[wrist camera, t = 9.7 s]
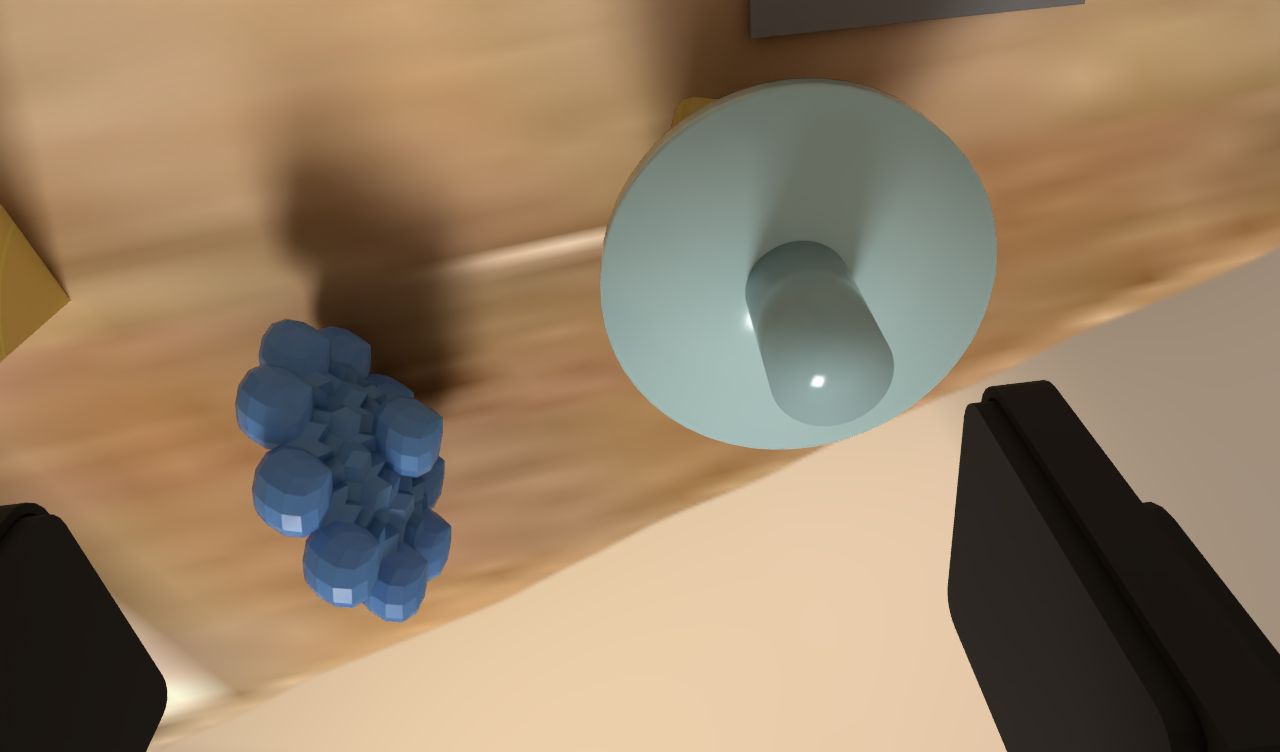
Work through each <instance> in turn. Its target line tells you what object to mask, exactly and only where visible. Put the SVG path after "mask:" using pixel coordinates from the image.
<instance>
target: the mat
mask: <svg viewBox="0 0 1280 752" xmlns="http://www.w3.org/2000/svg"><path fill="white" fill-rule="evenodd" d="M1078 4H1085V0H749V15H750V36H751V38H762V37H771V36H781V35H790V34H800V33H810V32H819V31H829V30H838V29H848V28H857V27H867V26H877V25H886V24H896V23H905V22H915V21H924V20H934V19H944V18H953V17H963V16H972V15H982V14H991V13H1001V12H1011V11H1020V10H1030V9H1039V8H1049V7H1058V6H1068V5H1078Z"/></svg>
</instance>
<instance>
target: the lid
mask: <svg viewBox="0 0 1280 752" xmlns="http://www.w3.org/2000/svg"><path fill="white" fill-rule="evenodd" d="M996 261H997V239H996V229H995V221H994V217H993V214H992V210H991V206H990V202H989V199H988V196H987V194H986V192H985V189H984V187H983V185H982V182H981V180H980V178H979V176H978V175H977V173H976V171H975V170H974V168H973V167H972V165H971V164H970V162H969V160H968V159H967V157H966V156H965V155H964V154H963V153H962V152H961V150H960V149H959V148H958V147H957V146H956V145H955V144H954V142H953V141H952V140H951V139H950V138H949V137H948V136H947V135H946V134H945V133H944V132H942V131H941V130H940V129H939V128H938V127H937V126H936V125H935V124H934V123H932V122H931V121H930V120H929V119H927V118H926V117H925V116H924V115H923V114H921V113H920V112H919V111H918V110H916V109H915V108H913V107H911V106H910V105H908V104H906V103H905V102H903V101H901V100H899V99H898V98H896V97H894V96H892V95H889V94H887V93H884V92H882V91H879V90H877V89H874V88H872V87H868V86H864V85H860V84H856V83H852V82H848V81H843V80H833V79H823V78H802V79H786V80H780V81H774V82H768V83H762V84H759V85H756V86H752V87H749V88H746V89H743V90H739V91H736V92H733V93H731V94H729V95H727V96H725V97H722V98H720V99H718V100H716V101H714V102H711V103H709V104H707V105H706V106H704V107H703V108H701V109H699V110H698V111H696V112H694V113H693V114H691V115H690V116H688V117H686V118H685V119H684V120H682V121H681V122H680V123H679V124H677V125H676V126H675V127H674V128H672V129H671V130H670V131H669V132H667V133H666V134H665V135H664V136H663V137H662V138H661V139H660V140H659V141H658V142H657V143H656V144H655V145H654V146H653V147H652V148H651V149H650V150H649V151H648V152H647V153H646V154H645V156H644V157H643V158H642V160H641V161H640V162H639V164H638V165H637V167H636V168H635V169H634V171H633V172H632V173H631V175H630V176H629V178H628V180H627V181H626V183H625V185H624V187H623V189H622V191H621V192H620V194H619V196H618V198H617V200H616V203H615V205H614V208H613V210H612V213H611V216H610V218H609V221H608V225H607V229H606V233H605V237H604V242H603V248H602V259H601V275H600V290H601V308H602V313H603V318H604V323H605V328H606V332H607V334H608V337H609V340H610V343H611V345H612V348H613V351H614V353H615V355H616V357H617V359H618V360H619V362H620V364H621V366H622V368H623V370H624V371H625V373H626V374H627V375H628V377H629V378H630V380H631V381H632V382H633V384H634V385H635V386H636V388H637V389H638V390H639V391H640V392H641V393H642V394H643V395H644V396H645V397H646V398H647V399H648V400H649V401H650V402H651V403H652V404H653V405H654V406H655V407H657V408H658V409H659V410H661V411H662V412H663V413H664V414H666V415H667V416H668V417H670V418H671V419H673V420H675V421H676V422H678V423H680V424H681V425H683V426H685V427H686V428H688V429H690V430H693V431H695V432H697V433H699V434H702V435H704V436H706V437H709V438H712V439H715V440H718V441H722V442H725V443H728V444H733V445H738V446H744V447H749V448H760V449H774V450H776V449H799V448H806V447H813V446H820V445H825V444H829V443H833V442H837V441H841V440H844V439H847V438H850V437H853V436H855V435H858V434H861V433H864V432H866V431H868V430H871V429H873V428H875V427H877V426H879V425H881V424H883V423H885V422H887V421H889V420H890V419H892V418H894V417H895V416H897V415H899V414H900V413H902V412H903V411H905V410H907V409H908V408H910V407H911V406H912V405H913V404H915V403H916V402H917V401H919V400H920V399H921V398H922V397H924V396H925V395H926V394H928V393H929V392H930V391H931V390H932V389H933V388H934V387H935V386H936V385H937V384H938V383H939V382H940V381H941V380H942V379H943V378H944V377H945V376H946V375H947V374H948V372H949V371H950V370H951V369H952V368H953V366H954V365H955V364H956V363H957V362H958V360H959V359H960V358H961V356H962V355H963V353H964V352H965V350H966V349H967V347H968V346H969V344H970V342H971V341H972V339H973V338H974V336H975V334H976V332H977V330H978V328H979V325H980V323H981V321H982V319H983V317H984V315H985V312H986V309H987V306H988V303H989V300H990V297H991V294H992V289H993V284H994V279H995V273H996Z"/></svg>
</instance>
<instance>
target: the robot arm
mask: <svg viewBox="0 0 1280 752" xmlns="http://www.w3.org/2000/svg"><path fill="white" fill-rule="evenodd" d="M962 435H963V436H962V444H961V455H960V465H959V476H958V486H957V496H956V506H955V517H954V527H953V537H952V548H951V559H950V569H949V579H948V603H949V609H950V613H951V617H952V620H953V623H954V626H955V629H956V631H957V633H958V636H959V638H960V641H961V643H962V645H963V648H964V650H965V652H966V655H967V657H968V660H969V662H970V664H971V667H972V669H973V672H974V674H975V676H976V678H977V681H978V683H979V686H980V688H981V690H982V693H983V695H984V698H985V700H986V702H987V705H988V707H989V710H990V712H991V714H992V717H993V719H994V722H995V724H996V726H997V729H998V731H999V733H1000V736H1001V738H1002V741H1003V743H1004V745H1005V748H1006V750H1007V752H1280V654H1279V653H1278V652H1277V650H1276V649H1275V648H1274V647H1273V645H1272V644H1271V643H1270V642H1269V640H1268V639H1267V638H1266V636H1265V635H1264V634H1263V632H1262V631H1261V630H1260V629H1259V627H1258V626H1257V625H1256V623H1255V622H1254V621H1253V620H1252V618H1251V617H1250V616H1249V614H1248V613H1247V612H1246V611H1245V609H1244V608H1243V607H1242V605H1241V604H1240V603H1239V602H1238V600H1237V599H1236V598H1235V596H1234V595H1233V594H1232V593H1231V591H1230V590H1229V589H1228V587H1227V586H1226V585H1225V584H1224V582H1223V581H1222V580H1221V578H1220V577H1219V576H1218V575H1217V573H1216V572H1215V571H1214V569H1213V568H1212V567H1211V566H1210V564H1209V563H1208V562H1207V560H1206V559H1205V558H1204V557H1203V555H1202V554H1201V553H1200V551H1199V550H1198V549H1197V548H1196V546H1195V545H1194V544H1193V542H1192V541H1191V540H1190V539H1189V537H1188V536H1187V535H1186V533H1185V532H1184V531H1183V530H1182V528H1181V527H1180V526H1179V524H1178V523H1177V522H1176V521H1175V519H1174V518H1173V517H1172V516H1171V515H1170V514H1169V513H1168V512H1167V511H1166V510H1165V509H1164V508H1163V507H1161V506H1159V505H1156V504H1155V503H1152V502H1145V503H1142V502H1141V501H1140V499H1139V498H1138V496H1137V495H1136V494H1135V493H1134V491H1133V490H1132V489H1131V487H1130V486H1129V485H1128V483H1127V482H1126V480H1125V479H1124V478H1123V476H1122V475H1121V474H1120V473H1119V471H1118V470H1117V468H1116V467H1115V466H1114V464H1113V463H1112V462H1111V461H1110V459H1109V458H1108V457H1107V455H1106V454H1105V453H1104V451H1103V450H1102V449H1101V447H1100V446H1099V445H1098V443H1097V442H1096V441H1095V439H1094V438H1093V437H1092V435H1091V434H1090V433H1089V431H1088V430H1087V429H1086V428H1085V426H1084V425H1083V423H1082V422H1081V421H1080V419H1079V418H1078V417H1077V415H1076V414H1075V413H1074V411H1073V410H1072V409H1071V407H1070V406H1069V405H1068V403H1067V402H1066V401H1065V399H1064V398H1063V397H1062V395H1061V394H1060V393H1059V391H1058V390H1057V389H1056V387H1055V386H1054V385H1053V384H1052V383H1051V382H1049V381H1045V380H1040V381H1032V382H1024V383H1016V384H1007V385H999V386H991V387H988V388H987V389H986V390H985V391H984V393H983V396H982V401H981V402H979V403H971V404H969V405H968V406H967V407H966V410H965V415H964V423H963V434H962ZM166 703H167V687H166V682H165V680H164V678H163V675H162V674H161V672H160V671H159V669H158V668H157V666H156V665H155V663H154V661H153V660H152V658H151V657H150V655H149V654H148V652H147V651H146V649H145V647H144V646H143V644H142V643H141V641H140V640H139V638H138V636H137V635H136V633H135V632H134V630H133V629H132V627H131V626H130V624H129V622H128V621H127V619H126V618H125V616H124V615H123V613H122V612H121V610H120V608H119V607H118V605H117V604H116V602H115V601H114V599H113V597H112V596H111V594H110V593H109V591H108V590H107V588H106V587H105V585H104V583H103V582H102V580H101V579H100V577H99V576H98V574H97V573H96V571H95V569H94V568H93V566H92V565H91V563H90V562H89V560H88V559H87V557H86V555H85V554H84V552H83V551H82V549H81V548H80V546H79V544H78V543H77V541H76V540H75V538H74V537H73V535H72V534H71V532H70V530H69V529H68V527H67V526H66V524H65V523H64V522H63V521H62V520H61V518H59V517H57V516H55V515H50V514H49V513H48V512H47V511H46V510H45V509H44V508H43V507H41V506H39V505H37V504H36V503H20V504H12V505H3V506H0V752H146V750H147V748H148V746H149V744H150V742H151V740H152V738H153V735H154V733H155V731H156V729H157V727H158V725H159V723H160V720H161V718H162V716H163V714H164V711H165V708H166Z"/></svg>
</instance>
